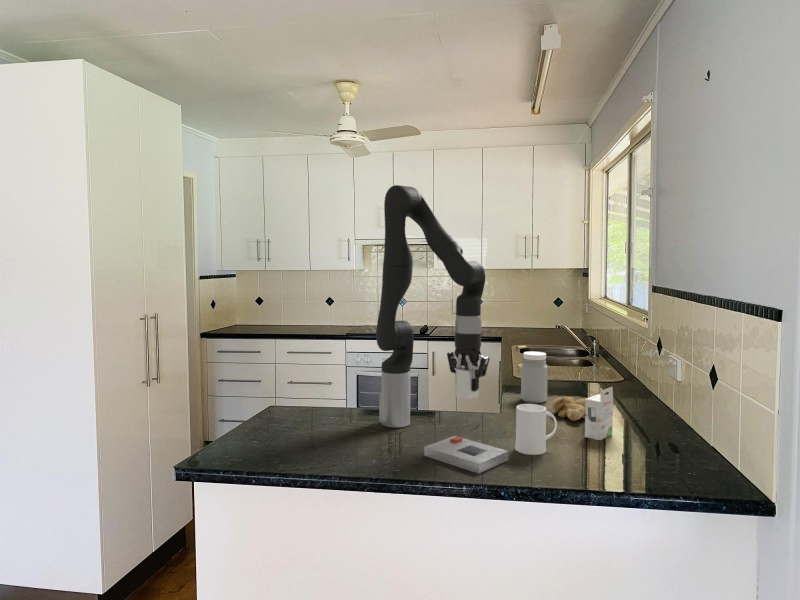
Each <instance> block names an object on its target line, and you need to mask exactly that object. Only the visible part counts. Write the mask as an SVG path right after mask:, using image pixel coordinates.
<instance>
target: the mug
mask: <svg viewBox="0 0 800 600" xmlns="http://www.w3.org/2000/svg"><path fill="white" fill-rule="evenodd" d="M515 411H516V412H515V415H516V416H515V445H514V450H515V451H517V453H520V454H523V455H531V456H538V455H543V454H545V453H546V452H547V448H546V447H547V446H546V445H547V443H546V441H547V440H549V439H550V438H552V437H553V436H554V435H555V433H556V432H557V430H558V429H557V428H558V421H557V418H556V416H554V414H553V413H552V412H550V411H547V407H546V406H543V405H541V404H537V403H523V404H522V403H520V404H518V405H516V408H515ZM547 416H549V417H551V418H552V419H553V420H554V429H553V431H552V432H551V433H549V434H547V433H546V432H547V431H546V430H547ZM546 434H547V435H546Z"/></svg>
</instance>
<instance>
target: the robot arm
mask: <svg viewBox="0 0 800 600" xmlns="http://www.w3.org/2000/svg"><path fill="white" fill-rule="evenodd" d="M383 205H384V206H383V211H384V251H383V252H384V253H383V261H382V262H383V263H382V274H381V275H382V281H381V282H382V283H381V296H380V304H379V311H378V317H377V323H376V331H375V340H376V344H377V346H378V348H379V349H380V350H382V351H383V352H390V351H392V354H390V356H389V357H388V358H386V359H384V360H383V361H382V362H381V392H380V393H379V394H378V395H379V397H378V399H379V402H378V404H379V409H378V412H379V415H378V416H379V422H378V423H380V424H381V425H382V426H384V427H388V428H404V427H408V426H410V424H411V367H412V363H413V358H414V357H413V355H414V341H415V340H414V339H415V338H414V336H415V335H414V330H413V327H412V325H411V323H410V322H409V321H408V320H397V319H396V318H397V311H398V308H399V305H400V303H401V301H402V300H403V298H404V296H405V295H406V293H407V292H408V289H409V288H410V287H411V282H412V279H413V267H414V266H413V265H414V264H413V262H414V259H413V254H412V252H411V248H410V246H409V243H408V241H407V235H406V220H407V218H409V219H411V220H412V221H414V222H415V223H416V224H417V225H418V227H420V229H421V231H422V232H423V234H424V239H425V241H426V243H427V245H428V247H429V248H430V250H431V251H432V252H433V253H434V254H435V255H436V257H437V258H438V259H439V260H440V261H441V262H442V263H443V265H444V269H445V270H446V272H447V273H448V275H449V277H450V279H451V280H452V281H453V282H454V283H456V285H458V286H460V287H462V291H461V294H459V295H458V296H457V297H456V300H455V322H454V347H455V350H454V351H450V352H446V357H447V361H448V366H449V370H450V371H449V372H450V373H453V374H454V375H455V376H456V374H457V369H462V368H464V366H465V365H466V366H468V367H469V371H471V375H472V379H471V391H473V392H474V391H477V390H478V391H479V388H480V378H481V377H485V376H486V375H487V370H488V366H489V363H490V357H489V356H485V355H482V352H481V347H482V318H481V317H482V315H481V313H482V312H481V311H482V307H481V300H482V298H483V293H484V289H485V284H486V271H485V268H484V265H482V264H481V263H480V262H478V261H474V260H473V261H471V260H470V261H468V260H467V259H466V258H465V257H464V256H463V253H464V250H463V248H462V246H461V244H459V243H458V242H457V241H456V239H455V238H454V237H453V236H452V235H451V234H450V233H449V232H448V230H447V229H446V228H445V227H444V226H443V225H442V223H441V222H440V221H439V220H438V218H437V217H436V215H435V214H434V212H433V210H432V209H431V207H430V205H429V204H428V203H427V201H426V200H425V198H424V196H423V195H422V193H421V192H420V191H419V190H418V189H417V188H415V187H413V186H407V185H406V186H405V185H399V184H398V185H396V184H395V185H392V186H390V187H389V189H387V191H386V193H385V197H384V203H383Z"/></svg>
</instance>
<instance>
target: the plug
mask: <svg viewBox="0 0 800 600" xmlns="http://www.w3.org/2000/svg"><path fill="white" fill-rule="evenodd" d="M455 379H456V380H455V382H456V383H455V384H456V385H455V387H456V389H455V390H456V391H455V395H456V398H460V399H466V400H472V399H475V398H478V397H479V389H478V390H477V391H474V392H473V391H471V379H472V375H471V371H469V367H468V366H466V365H465V366H464V368H462V369H457V374H456V375H455Z"/></svg>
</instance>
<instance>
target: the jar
mask: <svg viewBox="0 0 800 600" xmlns="http://www.w3.org/2000/svg"><path fill="white" fill-rule="evenodd" d="M546 359H547V353H546V352H543V351H532V350H531V351H524V352H523V363H521V377H520V379H521V383H520V398H521V400H522V401H523V402H525V403H528V404H542V403H544V402H546V401H547V400H548V375H549V373H548V371H549V369H548V368H549V366H548V364H547V361H546Z"/></svg>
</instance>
